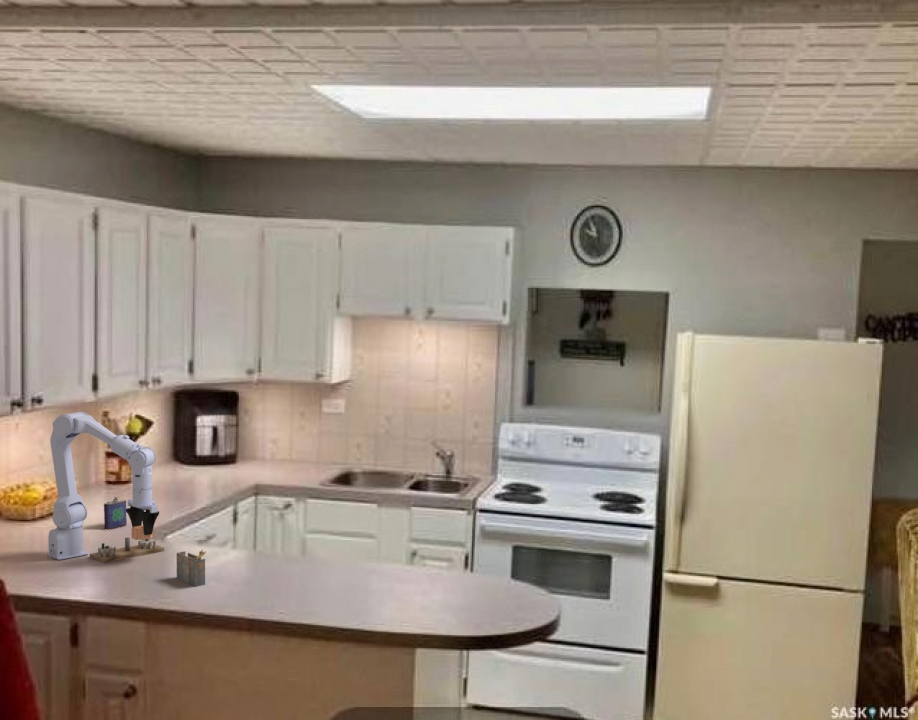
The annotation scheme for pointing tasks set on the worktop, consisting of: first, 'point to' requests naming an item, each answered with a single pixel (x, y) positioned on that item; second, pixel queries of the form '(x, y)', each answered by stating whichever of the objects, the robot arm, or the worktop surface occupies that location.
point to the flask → (115, 514)
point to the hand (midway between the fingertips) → (142, 532)
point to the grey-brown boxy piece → (191, 568)
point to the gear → (140, 533)
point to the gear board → (126, 550)
